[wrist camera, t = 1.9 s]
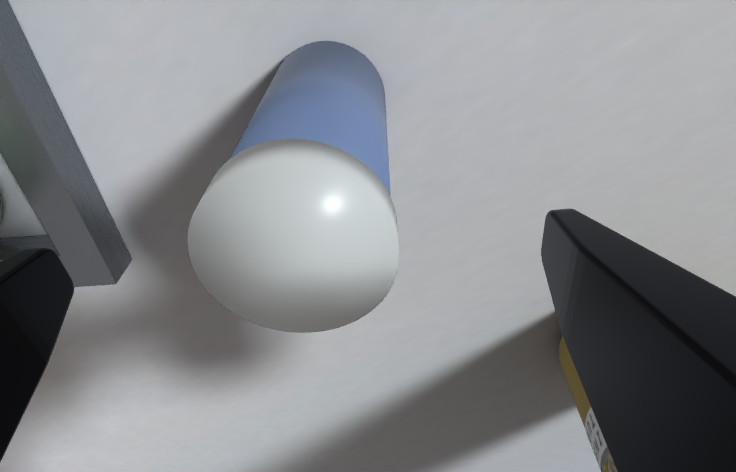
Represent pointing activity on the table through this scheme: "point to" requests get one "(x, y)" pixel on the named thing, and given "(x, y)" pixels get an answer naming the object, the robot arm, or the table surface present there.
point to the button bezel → (52, 169)
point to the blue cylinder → (304, 200)
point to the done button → (1, 208)
